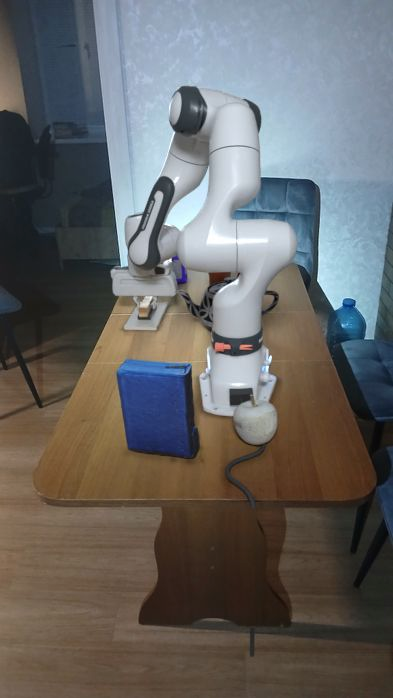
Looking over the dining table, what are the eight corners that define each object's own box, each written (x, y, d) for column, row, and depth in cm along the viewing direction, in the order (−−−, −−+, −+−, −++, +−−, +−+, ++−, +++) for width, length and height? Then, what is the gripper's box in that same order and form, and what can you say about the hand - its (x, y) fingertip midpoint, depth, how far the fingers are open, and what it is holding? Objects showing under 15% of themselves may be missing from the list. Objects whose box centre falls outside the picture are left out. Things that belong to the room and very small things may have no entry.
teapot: (177, 315, 160) (174, 270, 153) (273, 311, 160) (274, 265, 153) (175, 342, 143) (172, 292, 136) (283, 337, 143) (285, 287, 136)
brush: (149, 320, 155) (148, 307, 153) (137, 320, 156) (135, 307, 154) (157, 306, 165) (156, 294, 163) (145, 306, 165) (144, 294, 163)
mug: (212, 301, 170) (211, 272, 165) (204, 293, 177) (203, 265, 172) (245, 296, 173) (245, 267, 168) (235, 288, 180) (235, 260, 176)
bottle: (171, 278, 193) (168, 233, 185) (186, 277, 193) (184, 232, 185) (173, 284, 186) (169, 238, 178) (188, 283, 187) (185, 237, 179)
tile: (156, 330, 151) (156, 327, 151) (124, 329, 152) (123, 326, 152) (168, 305, 169) (168, 302, 168) (139, 304, 170) (139, 301, 170)
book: (201, 447, 101) (197, 359, 91) (195, 464, 96) (190, 373, 87) (134, 438, 104) (123, 353, 95) (125, 455, 99) (112, 367, 90)
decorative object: (266, 458, 97) (267, 415, 92) (226, 445, 101) (225, 403, 96) (283, 433, 103) (285, 392, 99) (245, 422, 107) (245, 382, 103)
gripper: (106, 269, 152) (112, 311, 158) (173, 269, 149) (176, 312, 155) (112, 263, 157) (117, 304, 163) (177, 262, 154) (179, 304, 161)
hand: (146, 308), depth 159 cm, fingers closed on brush, 2 cm apart
